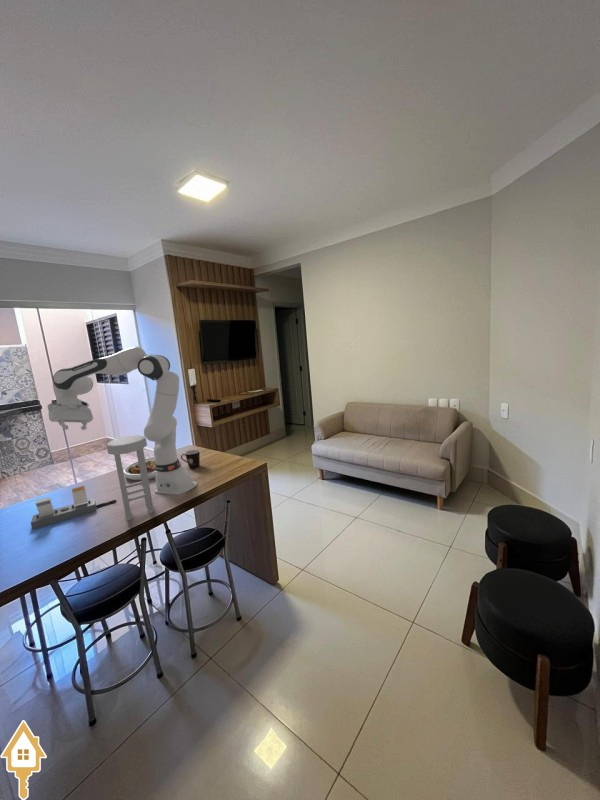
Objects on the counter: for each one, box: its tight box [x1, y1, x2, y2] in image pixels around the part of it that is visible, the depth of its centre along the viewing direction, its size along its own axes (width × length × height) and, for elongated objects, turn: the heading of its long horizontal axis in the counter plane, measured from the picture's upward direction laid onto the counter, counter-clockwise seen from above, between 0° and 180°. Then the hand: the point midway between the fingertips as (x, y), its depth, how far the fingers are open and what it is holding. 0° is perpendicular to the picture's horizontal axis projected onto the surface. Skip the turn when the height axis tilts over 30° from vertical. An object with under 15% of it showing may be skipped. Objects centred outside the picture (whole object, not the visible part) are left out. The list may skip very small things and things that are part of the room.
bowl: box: [123, 456, 157, 481], centre depth 196 cm, size 30×30×8 cm
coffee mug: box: [180, 449, 201, 470], centre depth 199 cm, size 12×9×10 cm
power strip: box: [30, 497, 117, 531], centre depth 150 cm, size 33×8×5 cm, turn 124°
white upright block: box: [71, 485, 88, 505], centre depth 151 cm, size 5×2×8 cm, turn 124°
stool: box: [106, 434, 155, 521], centre depth 144 cm, size 16×16×35 cm
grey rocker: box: [35, 496, 54, 516], centre depth 142 cm, size 5×2×8 cm, turn 124°
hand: (75, 429), depth 157 cm, fingers open, 8 cm apart
